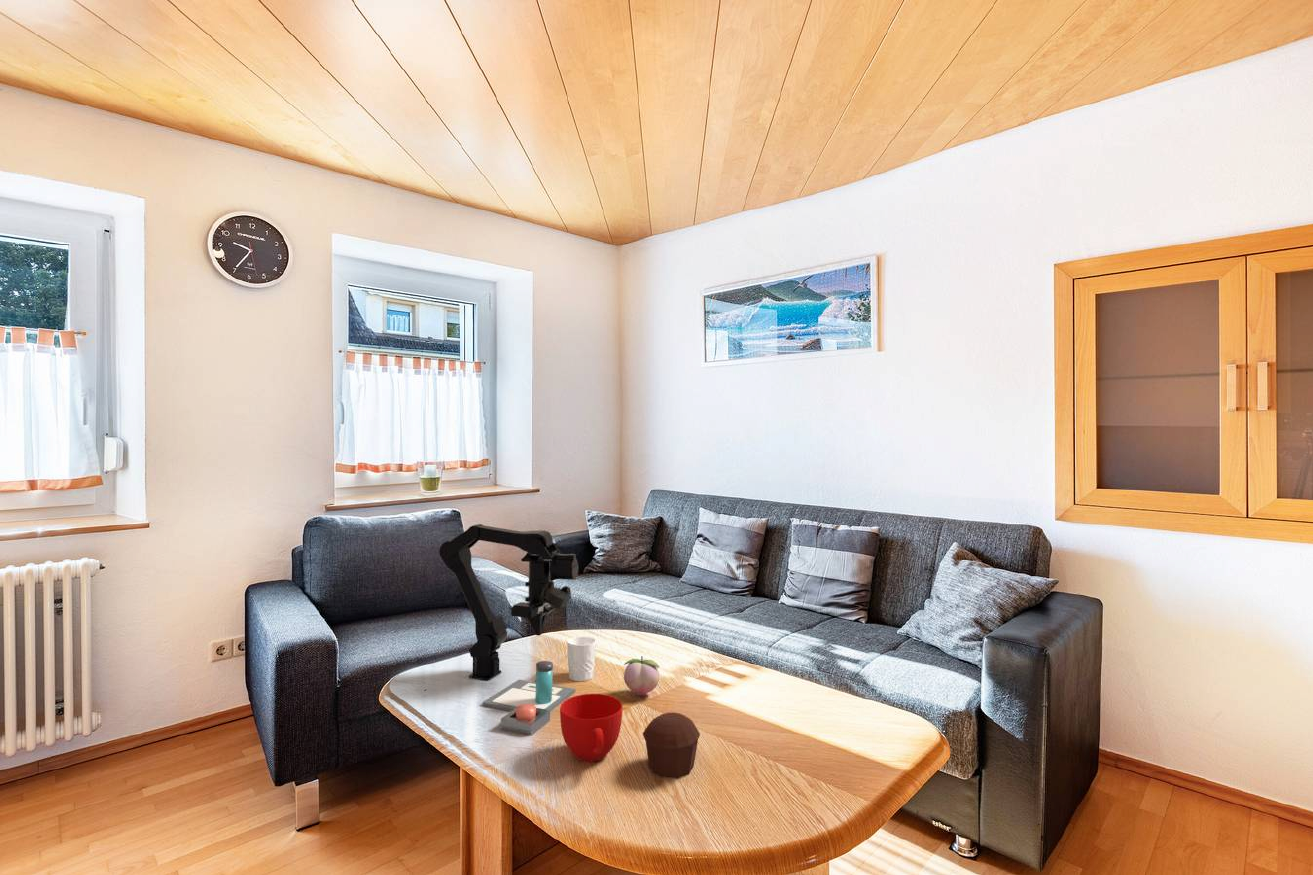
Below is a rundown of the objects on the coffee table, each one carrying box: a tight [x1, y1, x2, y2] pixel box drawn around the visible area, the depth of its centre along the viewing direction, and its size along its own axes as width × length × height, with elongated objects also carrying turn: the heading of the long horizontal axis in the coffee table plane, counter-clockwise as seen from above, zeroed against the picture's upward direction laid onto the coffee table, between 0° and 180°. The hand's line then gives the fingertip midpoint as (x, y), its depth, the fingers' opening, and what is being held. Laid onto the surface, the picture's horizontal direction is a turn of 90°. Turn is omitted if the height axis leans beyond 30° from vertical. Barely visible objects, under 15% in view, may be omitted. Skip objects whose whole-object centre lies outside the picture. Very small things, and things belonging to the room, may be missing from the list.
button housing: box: [500, 708, 551, 736], centre depth 145 cm, size 8×8×2 cm
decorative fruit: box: [623, 655, 660, 696], centre depth 163 cm, size 9×8×10 cm
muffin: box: [642, 712, 701, 779], centre depth 127 cm, size 12×11×10 cm
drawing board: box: [482, 679, 576, 712], centre depth 159 cm, size 17×16×1 cm
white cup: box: [566, 635, 597, 682], centre depth 174 cm, size 8×8×10 cm
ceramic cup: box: [559, 693, 624, 763], centre depth 130 cm, size 13×17×10 cm
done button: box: [516, 704, 536, 721], centre depth 145 cm, size 4×4×4 cm
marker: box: [535, 660, 554, 704], centre depth 156 cm, size 4×4×9 cm
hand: (538, 635), depth 172 cm, fingers closed
